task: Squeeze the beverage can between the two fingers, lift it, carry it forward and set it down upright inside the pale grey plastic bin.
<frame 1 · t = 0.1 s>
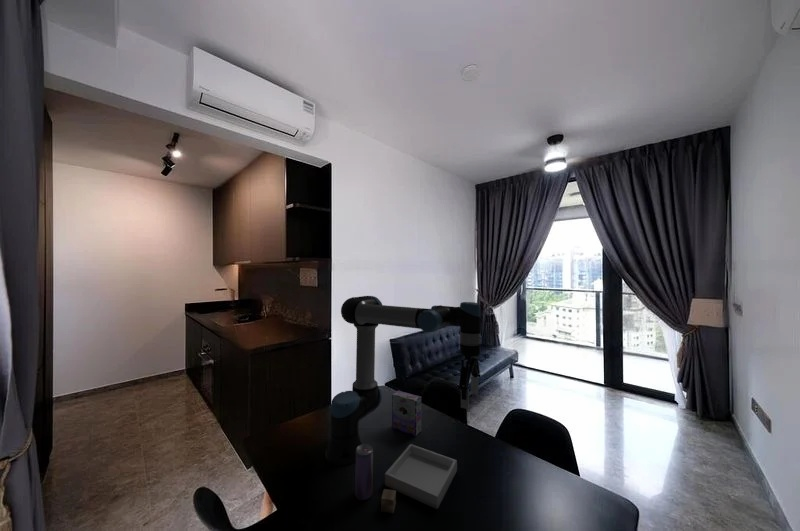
hand: (469, 400, 102), 28 cm above the table, fingers open, 13 cm apart
beverage can: (363, 494, 92), on the table
oak block: (388, 507, 87), on the table
candy box: (406, 429, 132), on the table
bin: (422, 477, 100), on the table
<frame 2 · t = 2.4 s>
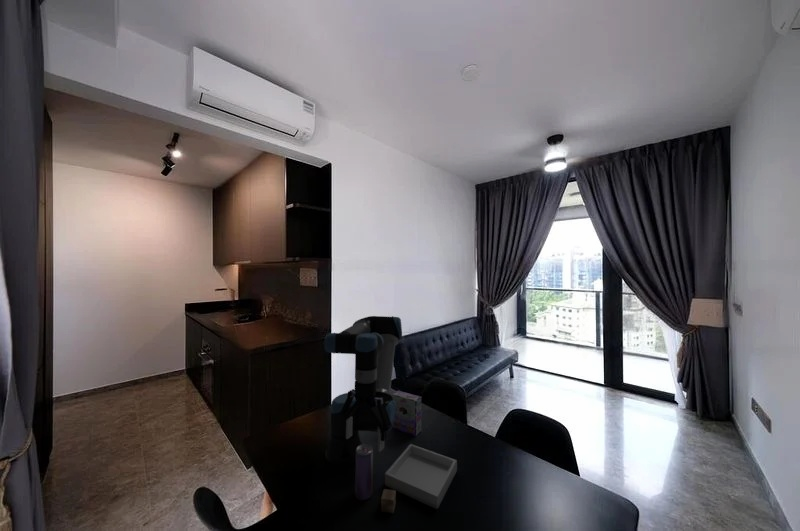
hand: (364, 443, 93), 17 cm above the table, fingers open, 13 cm apart
nothing on the table moved.
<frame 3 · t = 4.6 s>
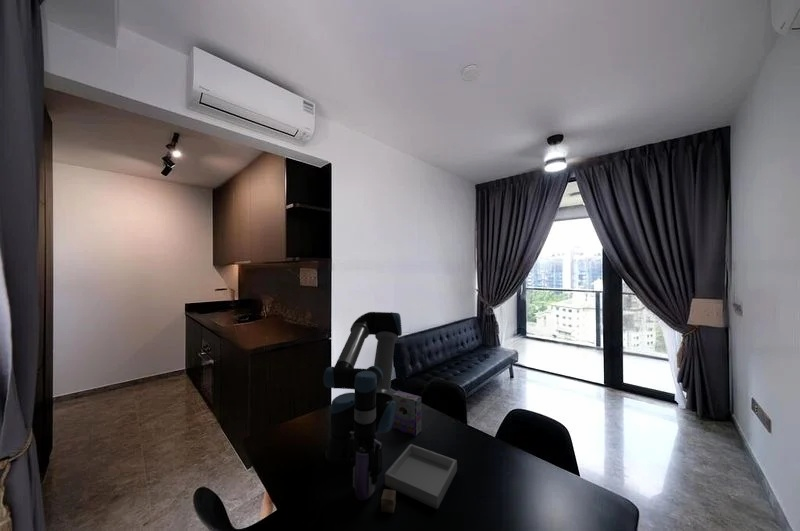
hand: (363, 488, 92), 2 cm above the table, fingers closed on beverage can, 6 cm apart
beverage can: (363, 494, 92), on the table, touching gripper
everything else where it was.
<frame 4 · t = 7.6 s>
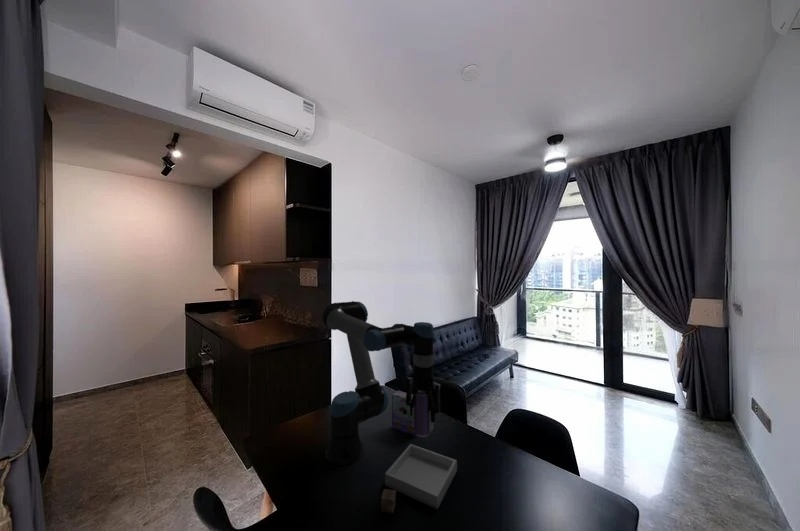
hand: (422, 427, 101), 18 cm above the table, fingers closed on beverage can, 6 cm apart
beverage can: (422, 433, 101), point 16 cm above the table, touching gripper
everything else where it was.
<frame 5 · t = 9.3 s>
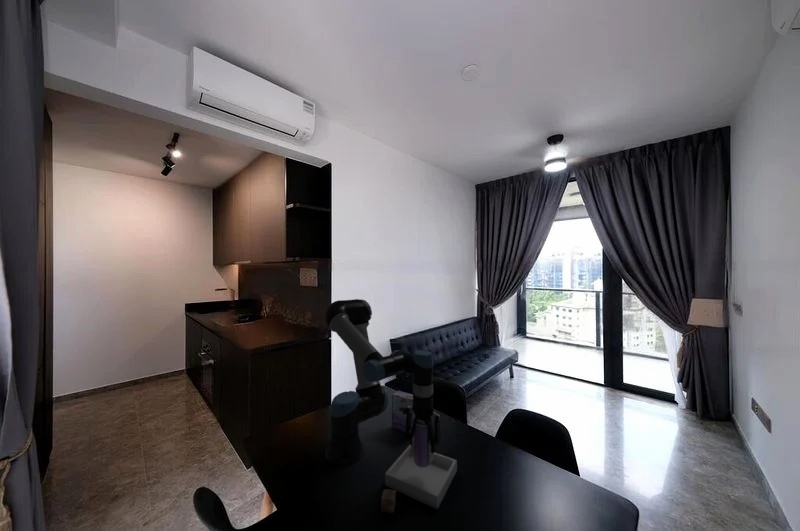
hand: (422, 457, 100), 7 cm above the table, fingers closed on beverage can, 6 cm apart
beverage can: (422, 463, 100), point 5 cm above the table, touching gripper
everything else where it was.
when the fingers open (5 cm above the table, at t = 10.6 s): beverage can drops 2 cm, resting on bin.
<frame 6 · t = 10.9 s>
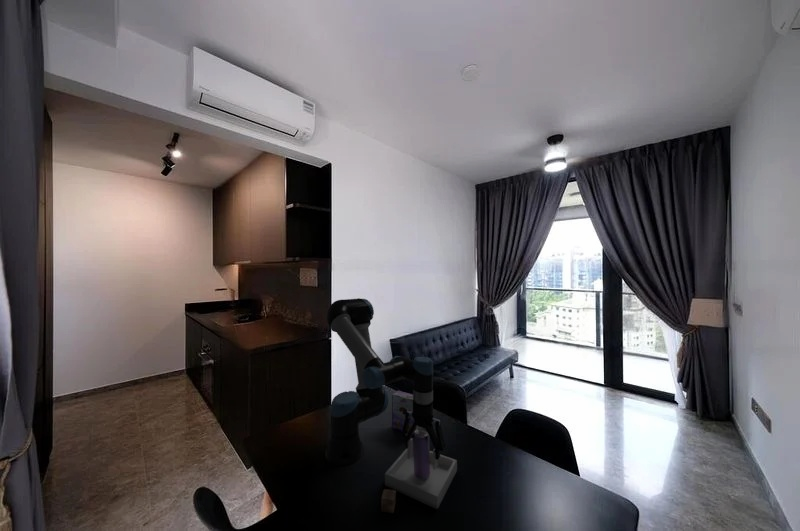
hand: (422, 462, 100), 6 cm above the table, fingers open, 9 cm apart
beverage can: (422, 475, 100), point 1 cm above the table, touching bin
everything else where it was.
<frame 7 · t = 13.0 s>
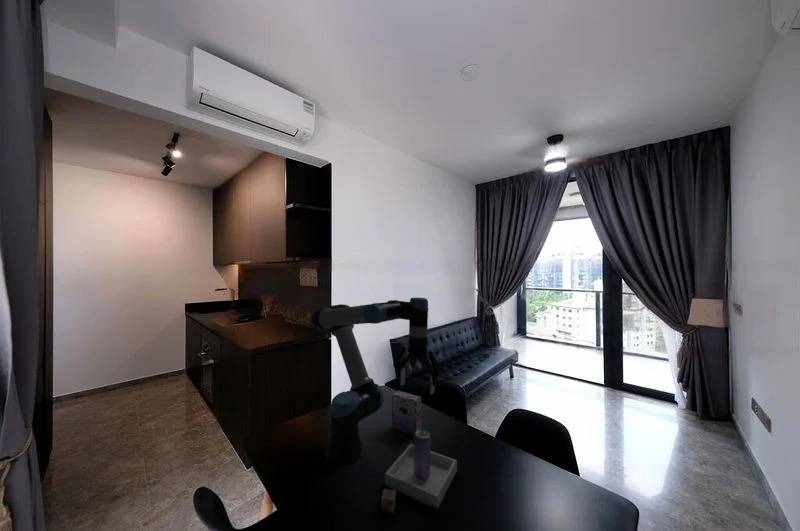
hand: (416, 388, 110), 29 cm above the table, fingers open, 13 cm apart
nothing on the table moved.
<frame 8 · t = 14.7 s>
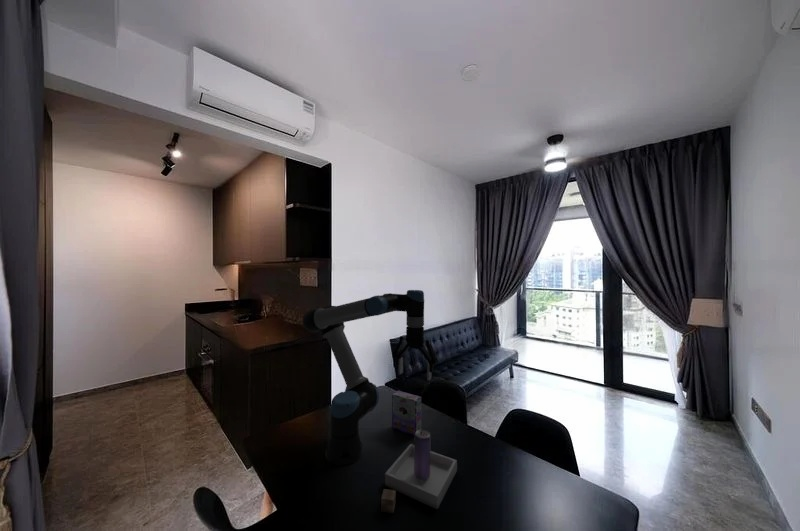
hand: (414, 376, 116), 32 cm above the table, fingers open, 13 cm apart
nothing on the table moved.
at the end: beverage can inside the target area on the bin (0.1 cm from its centre), point 0.8 cm above the bin's base; beverage can tilted 0°; the gripper is holding nothing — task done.
